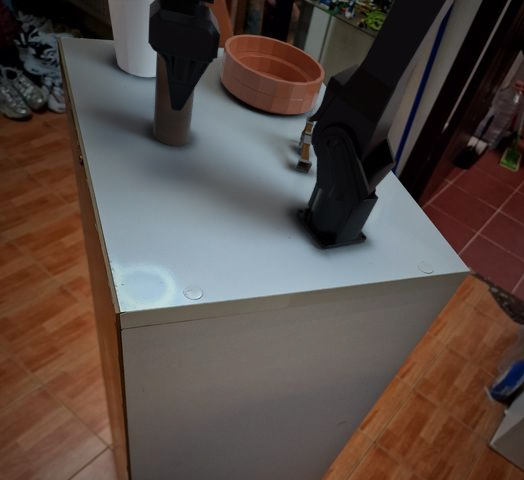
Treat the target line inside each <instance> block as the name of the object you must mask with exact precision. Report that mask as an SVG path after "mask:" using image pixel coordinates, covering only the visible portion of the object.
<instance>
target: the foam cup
mask: <svg viewBox="0 0 524 480" xmlns="http://www.w3.org/2000/svg"><path fill="white" fill-rule="evenodd" d="M153 1H154V0H107V2H108V8H109V9H108V10H109V15H110V22H111V28H112V29H111V30H112V37H113V42H114V49H115V50H114V51H115V58H116V61H117V63H116V64H117V66H118V67H119V68H120V69H121V70H122V71H124V72H126V73H128V74H129V75H133V76H136V77H141V78H154V77H155V78H156V56H157V52H156V51H154V50H153V49H152V47H151V46H150V44H149V43H148V38H149V8H150V4H151V3H152V2H153Z"/></svg>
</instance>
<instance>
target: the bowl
mask: <svg viewBox="0 0 524 480" xmlns="http://www.w3.org/2000/svg"><path fill="white" fill-rule="evenodd" d="M222 52H223V53H222V59H221V66H220V72H219V73H220V74H219V77H220V81H221V83H222V85H223V86H224V87H225V88H226V90H227V91H228V92H229V93H230V94H232V95H233V96H234V97H236V98H237V99H238V100H240V101H242V102H243V103H244V104H247V105H248V106H250V107H251V108H254V109H257V110H260V111H263V112H267V113H271V114H276V115H301V114H304V113H309V112H310V111H311V110H313V109H314V108H315V107H316V104H317V101H318V97H319V95H320V91H321V88H322V85H323V82H324V79H325V74H326V73H325V70H324V68H323V66H322V64H321V63H320V62H318V60H317V59H316V58H314V57H313V56H312V55H310V54H309V53H307V52H306V51H304V50H303V49H301V48H299V47H296V46H294V45H292V44H291V43H287V42H285V41H283V40H282V41H281V40H279V39H276V38H272V37H267V36H263V35H257V34H256V35H255V34H239V35H233V36H231V37H229V38H227V39H226V41H225V43H224V45H223V51H222Z"/></svg>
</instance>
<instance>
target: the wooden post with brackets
mask: <svg viewBox="0 0 524 480" xmlns="http://www.w3.org/2000/svg"><path fill="white" fill-rule="evenodd" d="M313 115H314V113H312V112H308V114H307V117H306V118H305V120H306V121H305V125H304V127H303V130H302V131H301V133H300V137H299V143H298V145H297V146H299V147H298V151H297V152H298V153H299V154H300V158H298V161H297V163H296V165H295V170H296V171H301V172H305V173H309V172H310V170H311V168H312V166H313V161H311V160H310V147H311V146H312V144H311V134H312V130H313V127H314V125H315V122H312V121H310V118H311V117H312V116H313Z"/></svg>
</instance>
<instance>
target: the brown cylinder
mask: <svg viewBox="0 0 524 480" xmlns="http://www.w3.org/2000/svg"><path fill="white" fill-rule="evenodd" d="M154 84H155V85H154V107H153V133H152V134H153V137H154V138H155V139H156V140H157V141H159V142H160V143H163V144H164V145H168V146H172V147H179V146H184V145H187V144H188V143H189V141H190V137H191V136H190V134H191V126H192V116H193V108H194V99H195V98H194V97H195V89H196V87H195V88H194V90H193V92H192V93H191V95H190V97H189V99H188V100H187V102H186V104H185V105H184V107H183V109H182V110H181V111H176V110H172V109H171V103H170V96H169V88H168V80H167V72H166V65H165V61H164V59H163V58H162V57H161V56H160V55H159V54H158V52H157V56H156V77H155V82H154Z"/></svg>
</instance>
